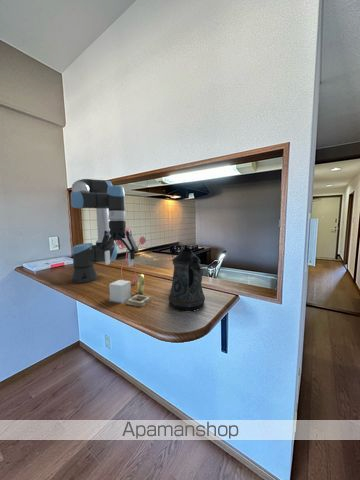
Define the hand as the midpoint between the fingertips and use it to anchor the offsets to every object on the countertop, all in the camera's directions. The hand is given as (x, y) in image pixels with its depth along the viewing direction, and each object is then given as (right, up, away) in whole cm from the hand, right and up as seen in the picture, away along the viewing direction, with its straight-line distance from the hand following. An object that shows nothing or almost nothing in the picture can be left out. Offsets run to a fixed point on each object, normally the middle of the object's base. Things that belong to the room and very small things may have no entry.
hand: (119, 265), depth 95 cm
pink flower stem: (-3, -15, +23) cm, 27 cm away
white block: (0, -16, +2) cm, 17 cm away
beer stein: (+33, -18, -5) cm, 38 cm away
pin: (+9, -16, +9) cm, 20 cm away
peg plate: (0, -17, +2) cm, 17 cm away
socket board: (+10, -17, -2) cm, 20 cm away
